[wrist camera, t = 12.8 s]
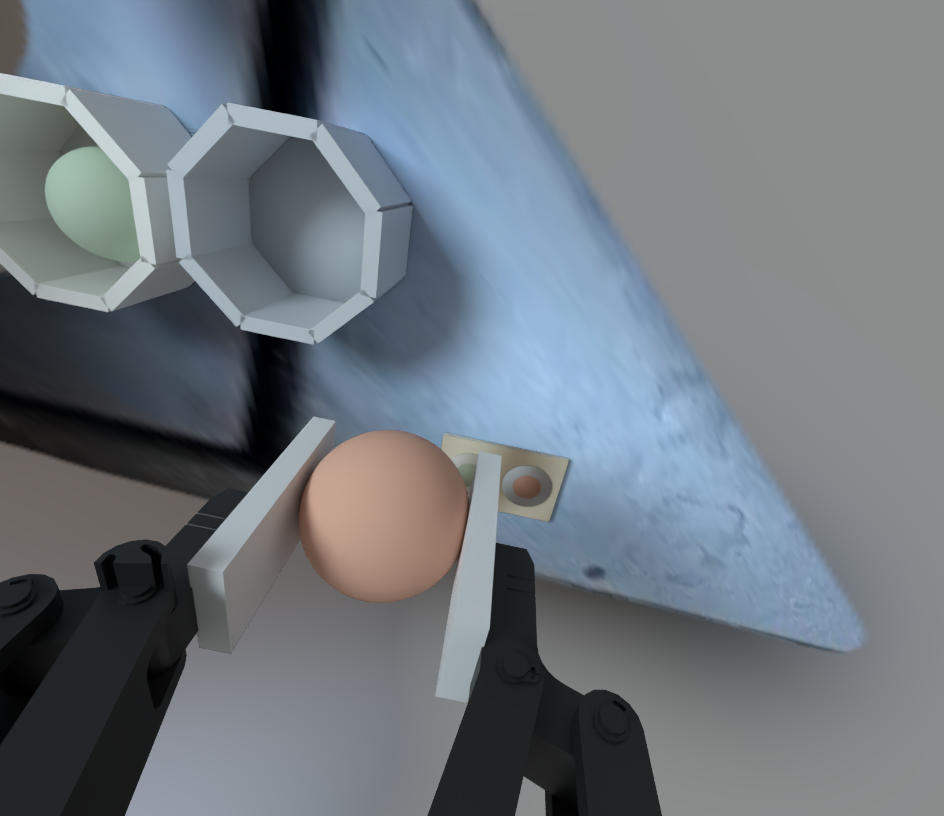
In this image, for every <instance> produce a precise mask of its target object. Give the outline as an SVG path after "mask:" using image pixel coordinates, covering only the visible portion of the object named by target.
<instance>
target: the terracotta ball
mask: <svg viewBox="0 0 944 816" xmlns="http://www.w3.org/2000/svg"><path fill="white" fill-rule="evenodd" d="M469 506H470V504H469V498H468V492H467V489H466V486H465V483H464V480H463V478H462V476H461V474H460V472H459V470H458V469H457V467H456V466H455V464H454V463H453V461H452V460H451V459H450V458H449V457H448V456H447V454H446V453H445V452H443V451H442V450H441V449H440V448H439V447H437V446H436V445H435V444H433V443H432V442H430V441H428V440H426V439H424V438H422V437H420V436H417V435H415V434H411V433H408V432H403V431H397V430H381V431H373V432H368V433H364V434H361V435H358V436H355V437H353V438H351V439H349V440H347V441H345V442H343V443H342V444H340V445H339V446H337V447H336V448H335V449H333V450H332V451H331V452H330V453H329V454H327V455H326V456H325V457H324V458H323V460H322V461H321V462H320V463H319V464H318V466H317V467H316V468H315V470H314V471H313V473H312V475H311V476H310V478H309V480H308V482H307V484H306V486H305V489H304V492H303V495H302V499H301V503H300V510H299V530H300V536H301V541H302V544H303V548H304V550H305V553H306V555H307V557H308V559H309V561H310V562H311V564H312V566H313V568H314V569H315V570H316V572H317V573H318V574H319V575H320V576H321V577H322V579H324V580H325V581H326V582H327V583H328V584H329V585H330V586H332V587H333V588H335V589H336V590H337V591H339V592H341V593H342V594H345V595H347V596H349V597H352V598H354V599H358V600H362V601H367V602H376V603H379V602H380V603H381V602H382V603H383V602H396V601H400V600H404V599H407V598H410V597H412V596H416V595H418V594H420V593H422V592H423V591H425V590H427V589H428V588H430V587H431V586H433V585H434V584H436V583H437V582H438V581H439V580H440V579H441V578H442V577H443V576H444V575H445V574H446V573H447V572H448V571H449V569H450V568H451V567H452V565H453V564H454V563H455V561H456V560H457V558H458V556H459V554H460V552H461V548H462V544H463V539H464V534H465V529H466V524H467V519H468V513H469Z"/></svg>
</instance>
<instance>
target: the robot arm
mask: <svg viewBox="0 0 944 816" xmlns="http://www.w3.org/2000/svg"><path fill="white" fill-rule="evenodd" d="M335 425H336V421H333V420H328V419H323V418H318V417H313V418H312V419H311V420H310V421H309V422H308V424H307V425H306V426H305V427H304V428H303V429H302V431H301V432H300V433H299V434H298V435H297V436H296V438H295V439H294V440H293V441H292V442H291V443H290V445H289V446H288V447H287V448H286V449H285V451H284V452H283V453H282V454H281V455H280V456H279V458H278V459H277V460H276V461H275V462H274V463H273V465H272V466H271V467H270V468H269V469H268V470H267V472H266V473H265V474H264V475H263V476H262V477H261V479H260V480H259V481H258V482H257V483H256V484H255V486H254V487H253V488H252V489H251V490H250V492H249V493H248V492H244V491H239V490H234V489H227V490H225V491H224V492H222V493H220V494H218V495H216V496H215V497H213V498H211V499H210V500H209V501H208V502H207V503H206V504H205V505H204V506H203V507H202V508H201V509H200V511H199V512H198V514H196V515H195V516H194V517H193V518H192V519H191V520H190V521H189V522H188V524H187V526H186V525H185V526H184V527H183V528H182V529H181V531H180V532H179V533H177V535H176V536H175V537H174V538H173V539H172V540H171V541H170V542H169V543H168V544H167V545H166V546H164V545H163V544H161V543H159V542H157V541H151V540H138V541H130V542H127V543H124V544H121V545H118V546H115V547H114V548H112V549H110V550H108V551H107V552H105V553H103V554H102V555H101V556H100V557H99V558H98V559H97V560H96V561H95V562H94V565H95V569H96V572H97V576H98V580H99V583H100V587H98V588H87V589H74V590H73V589H72V590H59V589H58V586H57V584H56V582H55V580H54V579H53V578H51V577H48V576H46V575H41V574H28V575H24V576H18V577H13V578H11V579H8V580H6V581H3V582H1V583H0V816H125V814H126V811H127V809H128V806H129V804H130V801H131V799H132V796H133V794H134V791H135V789H136V786H137V784H138V781H139V779H140V776H141V774H142V771H143V769H144V766H145V763H146V761H147V759H148V756H149V754H150V751H151V749H152V746H153V744H154V741H155V739H156V736H157V734H158V731H159V729H160V726H161V724H162V721H163V719H164V716H165V714H166V711H167V709H168V706H169V704H170V701H171V699H172V696H173V694H174V691H175V689H176V686H177V684H178V681H179V679H180V676H181V674H182V671H183V669H184V666H185V661H186V656H187V655H186V647H187V646H188V644H189V643H190V641H191V640H192V639H193V637H194V636H195V634H196V633H197V636H198V643H199V648H204V649H209V650H214V651H219V652H224V653H229V654H231V653H232V651H233V650H234V648H235V646H236V645H237V643H238V641H239V640H240V638H241V636H242V635H243V633H244V631H245V630H246V628H247V626H248V625H249V623H250V621H251V620H252V618H253V616H254V615H255V613H256V611H257V610H258V608H259V606H260V605H261V603H262V601H263V600H264V598H265V596H266V595H267V593H268V592H269V590H270V588H271V586H272V585H273V583H274V581H275V580H276V578H277V576H278V575H279V573H280V572H281V570H282V568H283V567H284V565H285V563H286V562H287V560H288V558H289V557H290V555H291V553H292V552H293V550H294V548H295V547H296V545H297V543H298V541H299V540H300V538H301V536H300V530H299V510H300V503H301V499H302V495H303V492H304V489H305V486H306V484H307V482H308V480H309V478H310V476H311V475H312V473H313V471H314V470H315V468H316V467H317V466H318V464H319V463H320V462H321V461H322V460H323V458H324V457H325V456H326V455H327V454H329V453H330V452H331V451H332V450H333V449H334V444H335ZM500 470H501V455H496V454H491V453H486V452H482V451H479V455H478V459H477V463H476V468H475V472H474V476H473V481H472V485H471V490H470V494H469V504H470V506H469V513H468V519H467V524H466V529H465V534H464V539H463V544H462V548H461V552H460V554H459V556H458V560H457V566H456V572H455V578H454V584H453V590H452V596H451V603H450V608H449V614H448V620H447V627H446V633H445V639H444V645H443V651H442V657H441V663H440V669H439V675H438V682H437V688H436V694H435V696H436V697H441V698H445V699H450V700H455V701H460V702H465V703H467V700H468V697H469V701H468V705H467V707H466V710H465V713H464V716H463V719H462V721H461V724H460V727H459V730H458V733H457V735H456V738H455V741H454V744H453V746H452V749H451V752H450V755H449V758H448V760H447V763H446V766H445V769H444V772H443V775H442V777H441V780H440V783H439V786H438V788H437V791H436V794H435V797H434V799H433V802H432V805H431V808H430V810H429V813H428V816H515V812H516V808H517V803H518V799H519V794H520V789H521V785H522V780H523V776H524V777H526V778H527V779H529V780H530V781H532V782H534V783H535V784H537V785H538V786H540V787H541V788H543V789H545V802H546V816H662V814H661V810H660V805H659V800H658V795H657V791H656V786H655V781H654V777H653V772H652V768H651V763H650V758H649V753H648V749H647V744H646V740H645V735H644V730H643V727H642V725H641V722H640V720H639V717H638V715H637V714H636V713H635V711H634V710H633V708H632V707H631V706H630V704H629V703H627V702H626V701H625V700H624V699H622V698H621V697H620V696H619V695H617V694H614V693H612V692H609V691H607V690H593V691H591V692H590V693H587V694H585V696H584V695H582V694H581V693H579V692H577V691H575V690H573V689H572V688H570V687H568V686H566V685H564V684H563V683H561V682H560V681H559V680H557V679H556V678H554V677H553V676H552V675H551V674H550V673H549V672H548V671H547V669H546V668H545V666H544V665H543V663H542V661H541V659H540V656H539V654H538V648H537V633H536V604H535V584H534V581H535V575H534V563H533V561H532V559H531V557H530V555H529V553H528V551H527V549H523V548H518V547H513V546H509V545H504V544H499V543H496V529H497V514H498V500H499V485H500Z"/></svg>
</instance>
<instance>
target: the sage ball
mask: <svg viewBox="0 0 944 816" xmlns="http://www.w3.org/2000/svg"><path fill="white" fill-rule="evenodd" d="M45 197H46V202H47V206H48V209H49V211H50V213H51V216H52V217H53V219H54V221H55V222H56V224H57V225H58V226H59V228H60V229H61V230H62V231H63V232H64V233H65V234H66V236H68V237H69V238H70V239H71V240H72V241H73V242H75V243H76V244H77V245H79V246H80V247H82V248H83V249H85V250H87V251H89V252H91V253H93V254H95V255H98V256H101V257H103V258H107V259H110V260H116V261H126V262H131V261H138V260H139V258H140V252H139V246H138V239H137V233H136V226H135V220H134V213H133V207H132V200H131V194H130V187H129V181H128V179H127V178H126V176H125V175H124V174H123V173H122V172H121V171H120V170H119V168H118V167H117V166H116V165H115V164H114V163H113V162H112V160H111V159H110V158H109V157H108V156H107V155H106V154H105V152H104V151H103V150H102V149H101V148H100V147H99V146H92V147H83V148H79V149H75V150H72V151H70V152H68V153H66V154H64V155H63V156H62V157H60V158H59V159H58V160H57V161H56V162H55V163H54V164H53V165H52V167H51V169H50V170H49V172H48V175H47V178H46V183H45Z"/></svg>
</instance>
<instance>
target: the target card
mask: <svg viewBox="0 0 944 816" xmlns="http://www.w3.org/2000/svg"><path fill="white" fill-rule="evenodd" d="M441 450H442V451H443V452H445V453H446V454H447V456H448V457H449V458H450V459H451V460H452V461H453V463H454V464H455V466H456V467H457V469H458V470H459V472H460V474H461V476H462V478H463V480H464V483H465V486H466V489H467V492H468V498H469V494H470V490H471V485H472V481H473V476H474V472H475V468H476V463H477V459H478V455H479V451H482V452H486V453H491V454H496V455H501V470H500V485H499V500H498V511H500V512H505V513H509V514H514V515H519V516H523V517H528V518H533V519H538V520H542V521H547V522H549V520H550V517H551V514H552V511H553V508H554V505H555V502H556V499H557V496H558V493H559V490H560V487H561V484H562V480H563V477H564V474H565V471H566V468H567V465H568V462H569V459H568V458H564V457H559V456H555V455H550V454H545V453H540V452H535V451H530V450H526V449H521V448H516V447H511V446H506V445H502V444H497V443H492V442H487V441H482V440H478V439H473V438H468V437H463V436H458V435H454V434H449V433H444V435H443V441H442V447H441Z"/></svg>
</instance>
